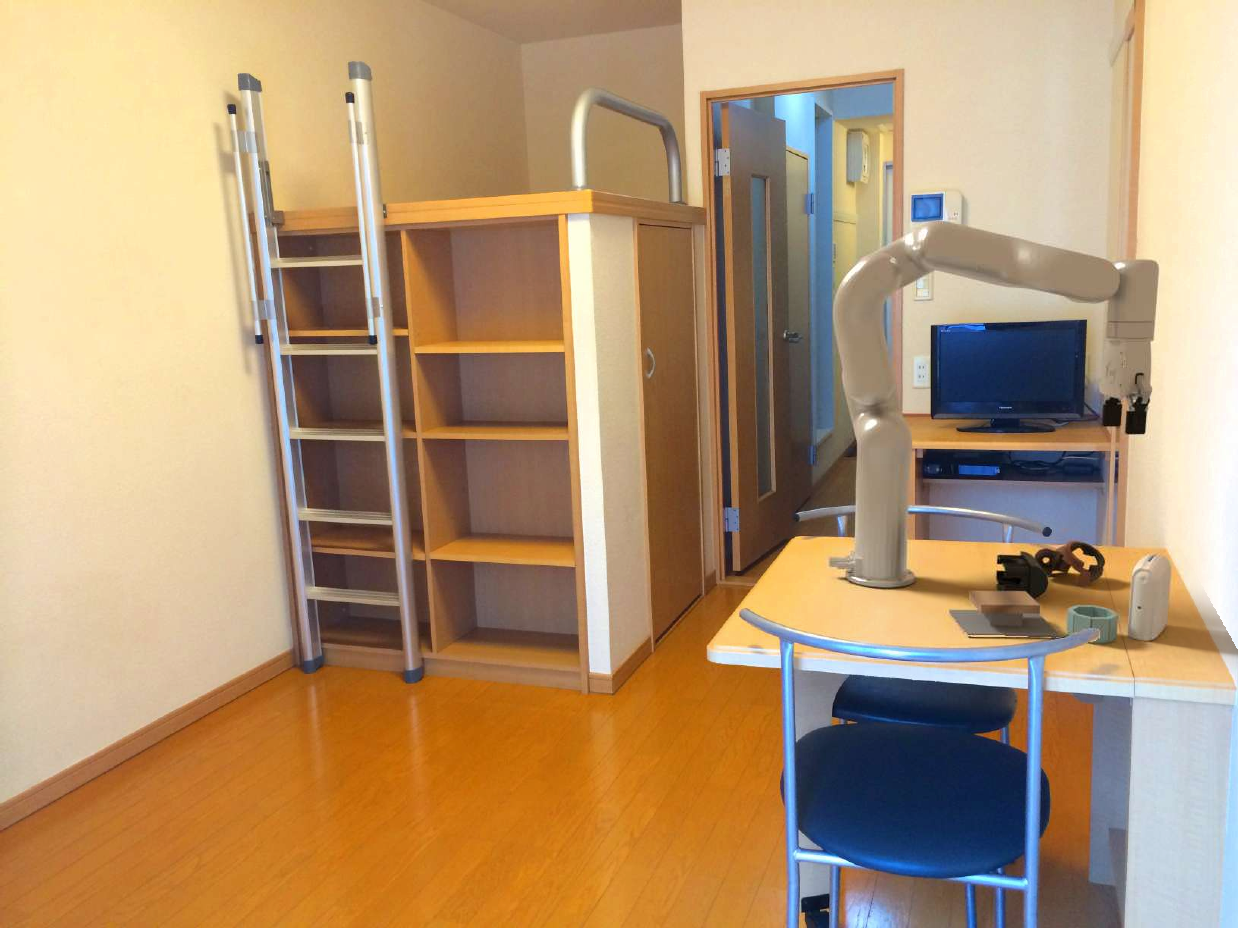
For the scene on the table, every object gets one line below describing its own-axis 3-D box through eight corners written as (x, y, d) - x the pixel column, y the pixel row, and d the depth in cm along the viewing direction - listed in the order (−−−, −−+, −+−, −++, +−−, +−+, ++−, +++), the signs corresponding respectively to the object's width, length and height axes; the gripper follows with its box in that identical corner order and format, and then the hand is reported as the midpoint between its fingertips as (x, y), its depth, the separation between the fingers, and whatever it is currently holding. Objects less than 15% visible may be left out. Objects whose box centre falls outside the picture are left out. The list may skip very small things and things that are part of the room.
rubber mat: (967, 637, 159) (968, 617, 158) (949, 612, 170) (949, 594, 170) (1060, 638, 157) (1061, 618, 157) (1035, 613, 169) (1036, 595, 169)
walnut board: (981, 613, 160) (981, 604, 160) (968, 598, 167) (969, 590, 167) (1039, 613, 159) (1040, 605, 159) (1024, 599, 167) (1025, 591, 166)
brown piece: (1079, 573, 194) (1101, 541, 189) (1093, 608, 186) (1117, 576, 182) (1020, 559, 193) (1040, 527, 188) (1032, 593, 186) (1054, 561, 181)
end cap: (1047, 604, 174) (1049, 566, 173) (1004, 602, 176) (1005, 564, 175) (1036, 587, 184) (1038, 551, 183) (995, 585, 186) (997, 549, 184)
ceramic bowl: (1076, 643, 155) (1078, 618, 154) (1061, 629, 162) (1063, 605, 161) (1121, 644, 155) (1123, 618, 154) (1104, 629, 161) (1106, 605, 160)
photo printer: (1154, 643, 155) (1160, 565, 152) (1123, 637, 157) (1129, 560, 155) (1170, 625, 162) (1176, 550, 160) (1140, 620, 165) (1146, 546, 163)
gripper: (1087, 330, 184) (1081, 423, 187) (1129, 334, 167) (1121, 437, 170) (1130, 329, 184) (1123, 423, 187) (1176, 334, 167) (1167, 437, 170)
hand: (1122, 430), depth 179 cm, fingers open, 9 cm apart
